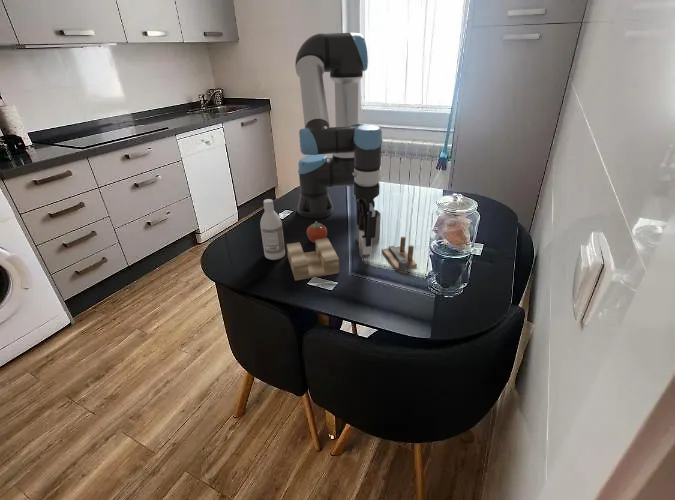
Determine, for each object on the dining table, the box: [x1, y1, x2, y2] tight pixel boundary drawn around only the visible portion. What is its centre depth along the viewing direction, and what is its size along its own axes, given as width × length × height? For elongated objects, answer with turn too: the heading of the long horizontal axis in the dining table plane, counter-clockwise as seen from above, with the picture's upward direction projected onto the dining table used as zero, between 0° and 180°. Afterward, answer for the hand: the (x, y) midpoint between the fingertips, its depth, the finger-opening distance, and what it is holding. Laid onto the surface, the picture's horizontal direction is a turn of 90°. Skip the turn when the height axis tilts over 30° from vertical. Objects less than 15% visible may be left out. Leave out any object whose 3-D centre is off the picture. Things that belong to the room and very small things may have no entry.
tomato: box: [306, 220, 328, 244], centre depth 129 cm, size 7×7×8 cm
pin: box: [359, 228, 371, 259], centre depth 116 cm, size 4×4×9 cm
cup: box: [356, 210, 382, 245], centre depth 129 cm, size 8×8×10 cm
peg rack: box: [381, 236, 418, 271], centre depth 117 cm, size 13×7×6 cm, turn 15°
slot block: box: [286, 237, 340, 281], centre depth 116 cm, size 14×14×5 cm
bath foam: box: [259, 198, 286, 261], centre depth 118 cm, size 7×7×20 cm
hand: (365, 250), depth 117 cm, fingers closed on pin, 3 cm apart
